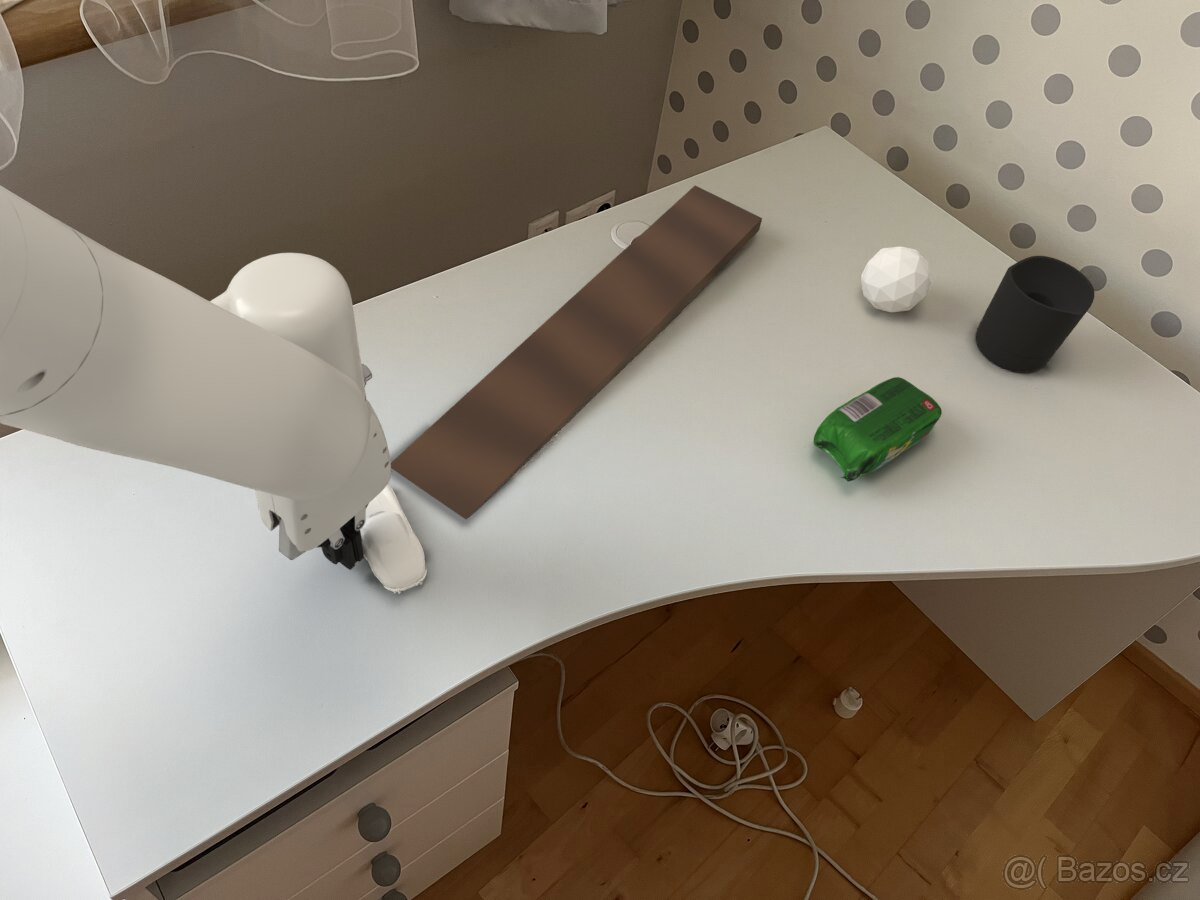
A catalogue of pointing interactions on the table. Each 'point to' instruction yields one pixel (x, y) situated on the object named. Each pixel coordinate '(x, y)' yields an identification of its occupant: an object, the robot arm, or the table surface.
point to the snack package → (877, 426)
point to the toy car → (392, 544)
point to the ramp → (575, 353)
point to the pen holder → (1033, 313)
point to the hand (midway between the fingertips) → (344, 555)
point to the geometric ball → (896, 279)
